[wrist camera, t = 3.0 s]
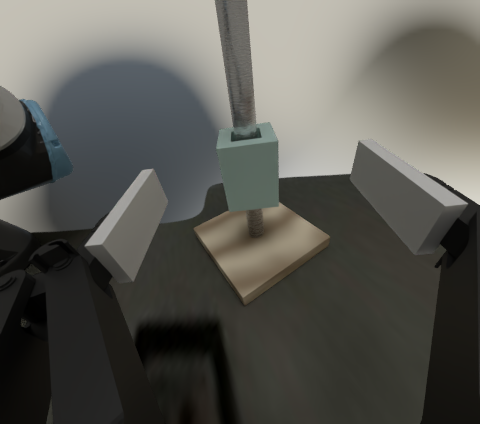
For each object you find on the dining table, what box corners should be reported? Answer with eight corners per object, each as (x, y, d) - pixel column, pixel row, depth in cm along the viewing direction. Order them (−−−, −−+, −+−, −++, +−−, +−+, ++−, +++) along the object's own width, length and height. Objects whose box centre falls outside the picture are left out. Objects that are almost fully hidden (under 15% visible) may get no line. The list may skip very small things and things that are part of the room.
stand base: (196, 236, 35) (193, 228, 34) (264, 200, 40) (264, 192, 39) (244, 306, 25) (242, 297, 24) (328, 245, 30) (330, 236, 29)
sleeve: (229, 212, 25) (216, 149, 20) (230, 185, 29) (219, 129, 24) (278, 206, 24) (278, 140, 19) (271, 180, 29) (269, 122, 24)
